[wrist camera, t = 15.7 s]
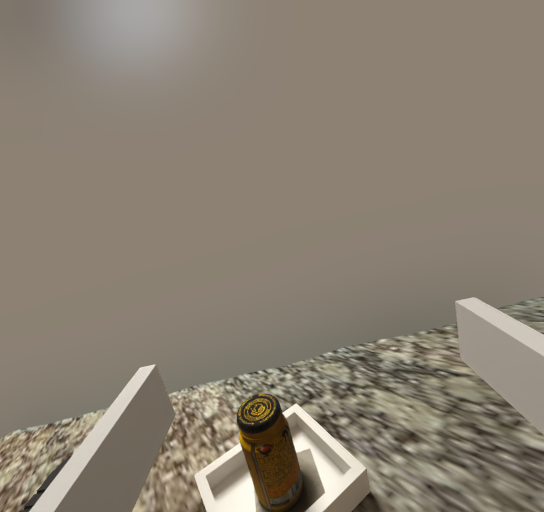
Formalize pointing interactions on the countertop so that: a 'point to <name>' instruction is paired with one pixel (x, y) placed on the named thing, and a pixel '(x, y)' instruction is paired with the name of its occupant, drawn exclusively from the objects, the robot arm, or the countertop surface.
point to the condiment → (276, 458)
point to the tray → (328, 458)
